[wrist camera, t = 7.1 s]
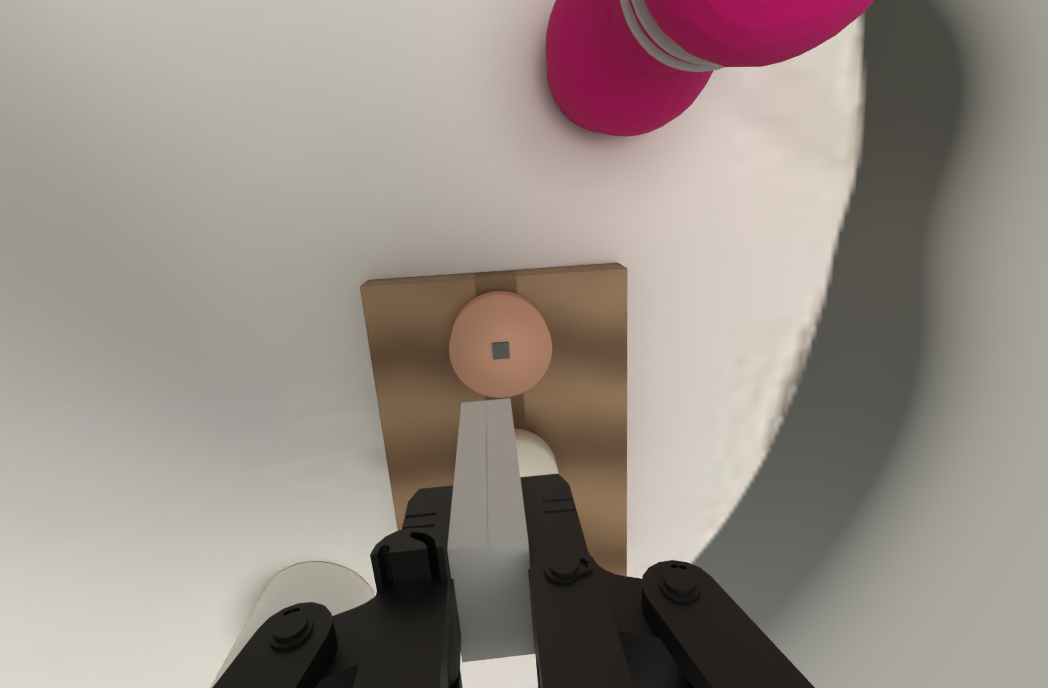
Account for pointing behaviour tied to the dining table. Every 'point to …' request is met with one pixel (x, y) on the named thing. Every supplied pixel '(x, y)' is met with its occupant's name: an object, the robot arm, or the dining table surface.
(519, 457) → the button
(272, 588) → the pill bottle
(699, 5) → the pepper mill
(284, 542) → the dining table surface
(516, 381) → the button
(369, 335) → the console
